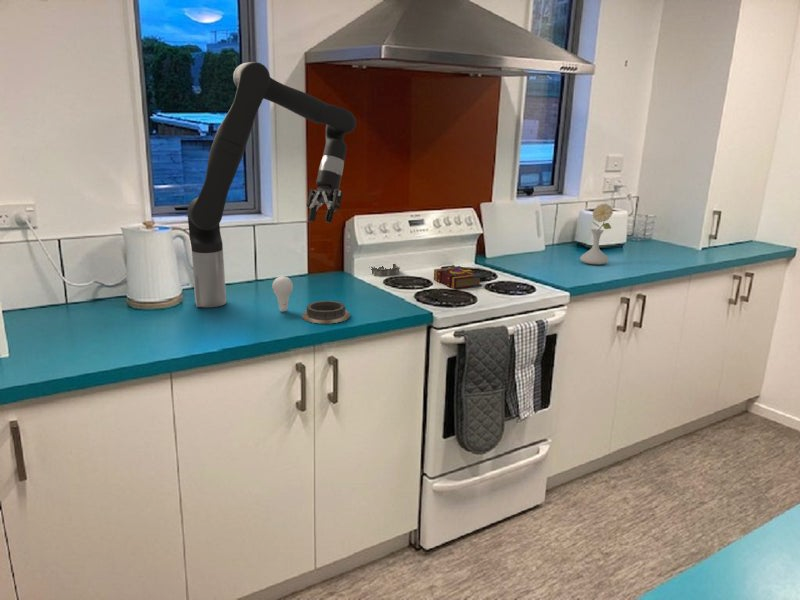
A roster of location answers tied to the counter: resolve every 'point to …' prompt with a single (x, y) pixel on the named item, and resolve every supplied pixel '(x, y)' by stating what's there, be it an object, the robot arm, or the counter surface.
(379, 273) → the egg carton
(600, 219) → the flower in vase
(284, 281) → the lightbulb
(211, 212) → the robot arm
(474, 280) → the decorative book
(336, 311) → the bulb holder
